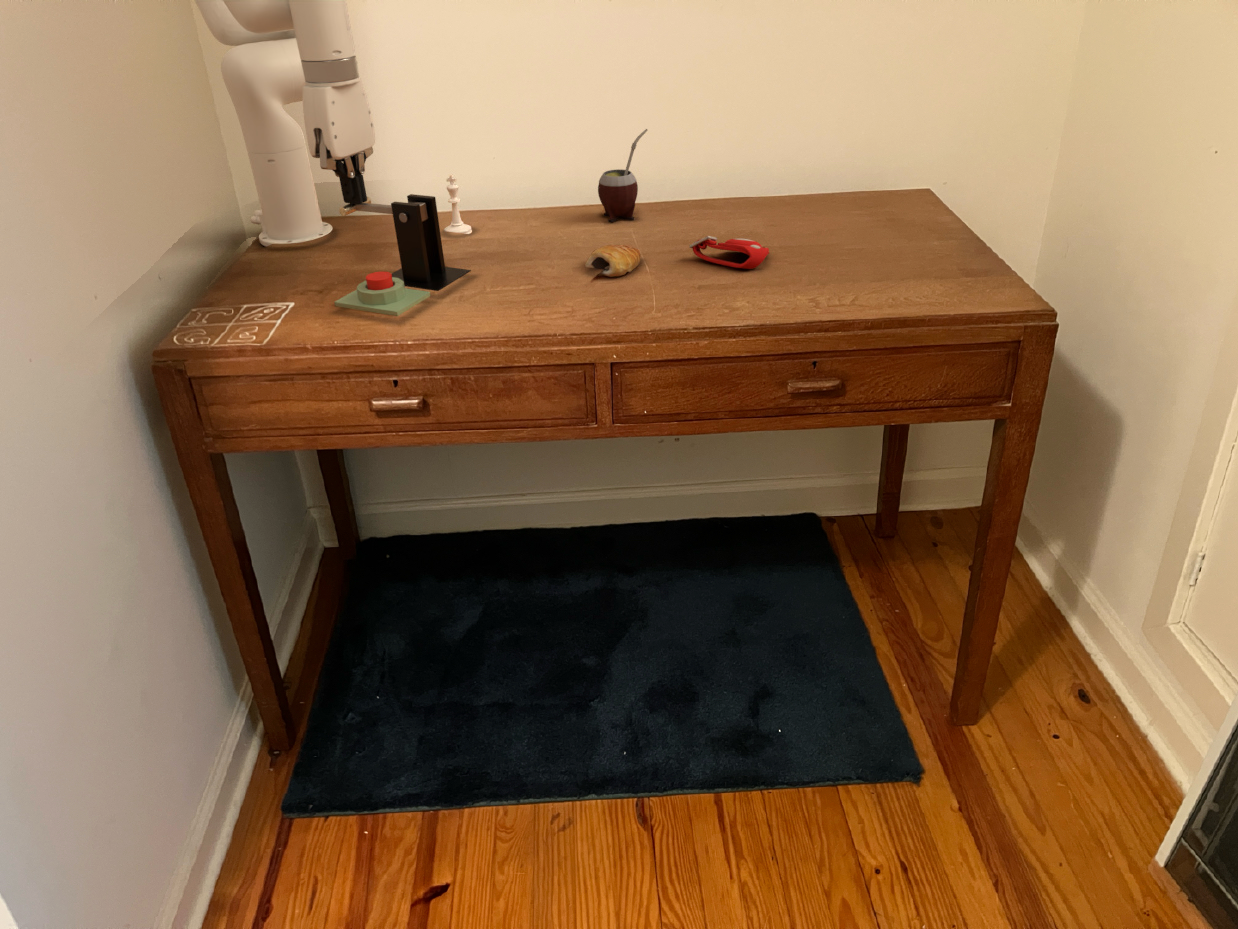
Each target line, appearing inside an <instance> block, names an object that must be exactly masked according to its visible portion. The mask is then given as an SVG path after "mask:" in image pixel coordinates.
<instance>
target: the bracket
mask: <svg viewBox="0 0 1238 929" xmlns="http://www.w3.org/2000/svg"><path fill="white" fill-rule="evenodd" d="M406 198H407V202H403V201H393V202H390V205H391V207H392V213H393V214H392V219H393V225H394V230H395V236H396V242H397V248H398V255H399V260H400V266H401V268H399V269H397V270H396V271H393V272H392V273H391V275H392V277H395V278H399V279H401V280H402V281H404V286H405V287H406V288H413V289H414V288H416V289H422V290H427V291H428V290H429V291H435V292H439V291H441V290H442V289H444V288H445V287H447V286H449V285H450V284H452V283H454V282H455V281H457V280H458V279H460V278H462V277H464V276H465V275H467V274H468V273H471V272H472V270H471V269H466V268H458V267H450V266H446V263H445V257H444V256H445V255H444V249H443V242H442V234H441V228H440V221H439V214H438V206H437V200H436V196H433V195H424V194H423V195H422V194H413V193H411V194H409V195H406ZM410 201H412V202H423V203H426V208H427V214H428V219H426V220H424V221H422V218H421V211H420V205H419V204H413V203H408V202H410Z"/></svg>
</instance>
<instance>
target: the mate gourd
mask: <svg viewBox="0 0 1238 929" xmlns="http://www.w3.org/2000/svg"><path fill="white" fill-rule="evenodd" d="M647 132H648V128H645V129H644V130H643V131H642V132H640V134H639V135H637V137H636V138H635V139H634V141H633V142H632V143H631V147H630V152H629V156H628V160H627V164H626V167H625V169H619V168H618V169H610V170H606V171H604V172H602V175H601V176H600V178H599V180H598V186H597V193H598V198H599V201H600V203H601V205H602V206H603V209H604V213H603V217H606V218H609V219H607V221H608V224H613V223H614V222H617V221H619V220H626V221H630V222H631V221H634V220H635V216H634V212H635V207H636V201H637V198H638V192H639V186H638V182H637V181H638V180H637V178H636V176H635V175H634V173H633V172H632V171H631V170H630V167H631V162H632V159H633V155H634V152H635V150H636V148H637V144H638V142H639V141H640V140H641V138H642V137H643V136H644V135H645V134H646V133H647Z"/></svg>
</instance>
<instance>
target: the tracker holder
mask: <svg viewBox="0 0 1238 929" xmlns="http://www.w3.org/2000/svg"><path fill="white" fill-rule="evenodd" d="M717 241H718V238H717V237H715V236H711V235H706V236H705V237H703V238H700V239H697V240H695V241H694V242H692V243H691V244H689V245H688V248H690V249H692V251H693V254H694V255H695V256H697V258H699V259H702V260H704V261H706V262H710V263H712V264H717V265H722V266H726V267H731V268H736V269H744V270H745V269H747V270H752V269H755V268H758V267H759V266H760V265H761V264H763V262H764V261H765V259H766V257H767V256H768V255H769V254H770V248H769V247H763V245H761V243H759V242H758V241H755V240H752V239H748V238H729V239H727V240H726V241H725V242H718V243H717ZM707 248H711V249H716V250H721V251H730V252H739V253H743V254H745V255H747V256H748V258H747V259H746V260H745V261H744V262H742V263H738V262H735V261H734V262H733V261H728V260H724V259H719V258H715V257H711V256H708V255H706V254H704V253H703V252H702V251H704V250H706V249H707ZM701 250H702V251H701Z"/></svg>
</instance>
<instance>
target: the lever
mask: <svg viewBox="0 0 1238 929" xmlns="http://www.w3.org/2000/svg"><path fill="white" fill-rule="evenodd" d="M407 203H413V204H419V205H420V211H421V218H422V221H424V220H426V219H428V214H427V208H426V203H423V202H412V201H410V202H408V201H407ZM338 212H339V215H340V216H343V217H345V216H348V215H350V214H353V213H354V212H367V213H374V214H375V213H376V214H387V215H393V213H392V207H391V204H381V203H372V200H371V198H370V197H369V196H367V201H366V202H363V203H361V204H351V203H347V204H345V205H343V206H341V207H339V209H338Z"/></svg>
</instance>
